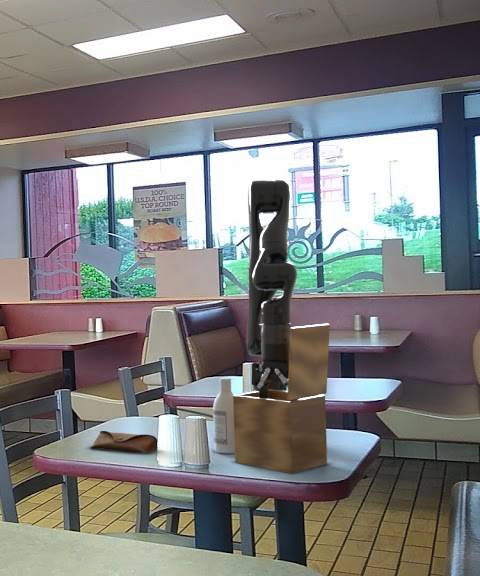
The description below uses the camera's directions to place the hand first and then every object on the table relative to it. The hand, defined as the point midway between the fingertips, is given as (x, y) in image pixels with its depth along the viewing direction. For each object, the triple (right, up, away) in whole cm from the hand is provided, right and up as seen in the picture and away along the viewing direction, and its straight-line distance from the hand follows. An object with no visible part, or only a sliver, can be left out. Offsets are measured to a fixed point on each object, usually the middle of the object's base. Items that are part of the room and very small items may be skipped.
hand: (278, 404), depth 209 cm
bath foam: (-8, -15, +16) cm, 23 cm away
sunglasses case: (-35, -16, +24) cm, 46 cm away
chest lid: (+4, +12, -7) cm, 15 cm away
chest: (+1, -15, 0) cm, 15 cm away
